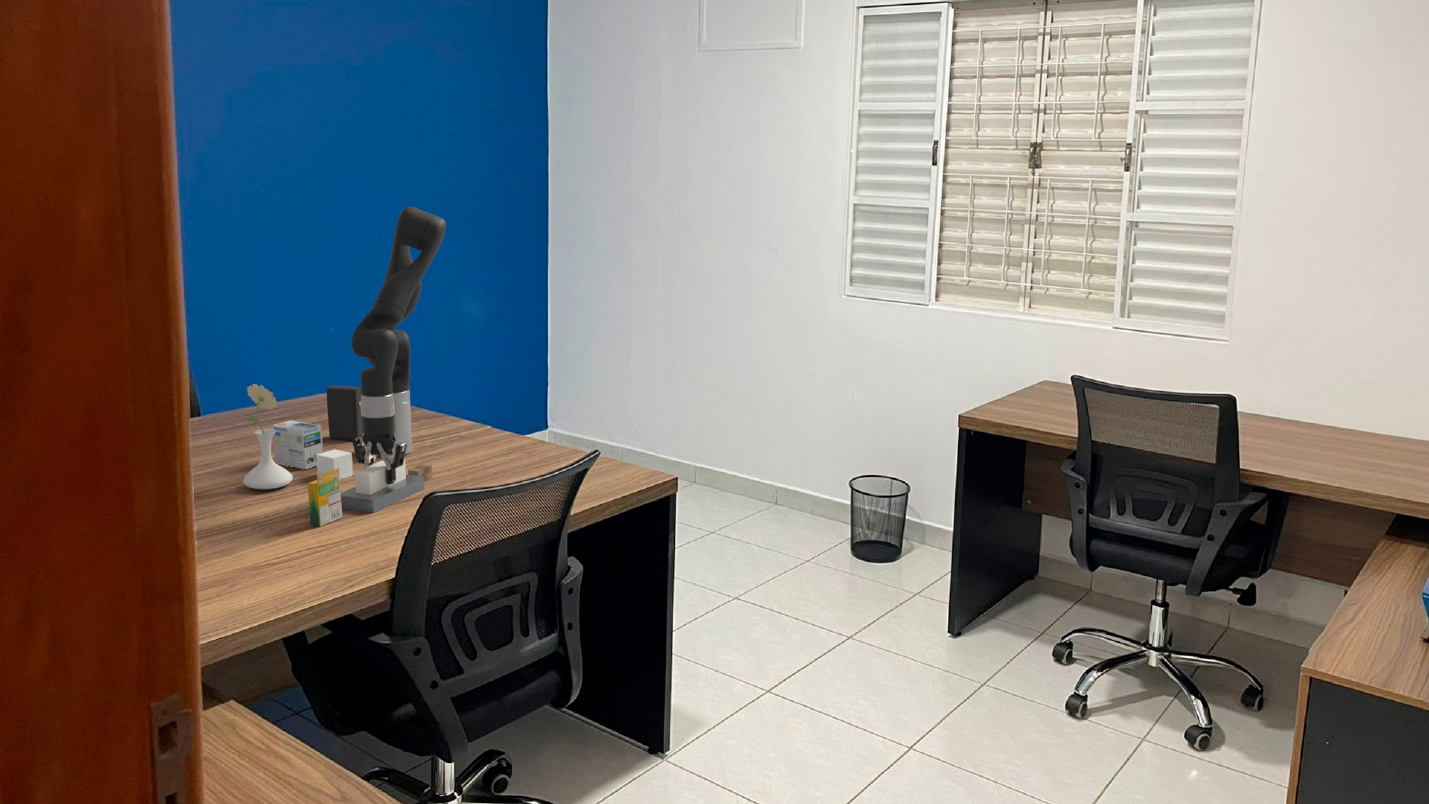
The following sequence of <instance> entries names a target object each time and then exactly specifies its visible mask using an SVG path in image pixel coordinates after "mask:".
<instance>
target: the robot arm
mask: <svg viewBox="0 0 1429 804" xmlns="http://www.w3.org/2000/svg"><path fill="white" fill-rule="evenodd" d="M446 228H447V223H446V220H445V219H443V218H442V217H440V216H437V215H435V214H432V213H430V212H427V211H425V210H421V209H419V208H417V207H413V206H406V207H404V209H402V211H401V212H400V215H399V217H398V220H397V222H396V228H395V230H394V231H395V232H394V237H393V243H392V244H393V245H392V250H391V255H390V260H389V263H388V267H387V270H386V275H385V277H384V279H383V284H382V287H380V291H379V293H378V295H377V297H376V300H375V302H374V304H373V307H372V309H370V311H368V313H366V315H365V317H363V319H362V320H361V321H360V323H359V324H358V325H357V326H356V328H355V329H354V331H353V333H352V336H351V340H350V343H351V345H350V346H351V350H352V352H353V353H354V354H355V355H356V356H358V357H361V358H366V360H367V362H368V363H369V364H370V365H371V367H367V368H365V369H363V370H362V371H361V374H360V388H361V419H362V432H363V437H358V438H355V439H353V440H351V442H352V446H353V451H354V453H355V458H356V461H357V463H358V464H362V465H363V466H364V468H365V467H368V466H370V465H373V464H375V463H376V462H375V461H376V458H377V456H380V457H381V461H382V460H383V461H384V462H385V465H386V468H387V470H386V481H387V485H391V484H393V483H394V482H395V481H396V468H398V467H400V466H402V465H403V463H404V459H405V457H406V455H407V454H410V453H412V452H413V441H412V416H411V392H410V383H411V342H410V337H409V336H408V335H409V334H408V333H407V332H406V331H405V330H403V329H395V328H396V327H397V326H399V324H401V323H402V322H403V321H405V320H406V318H407V317H409V316H410V315H411V313H413V312H414V310H415V308H417V305H418V302H419V298H420V296H421V295H420V294H421V292H422V281H421V280H422V278H423V277H424V276H425V274H426V272H427V270H429V269H428V268H429V267H430V265H431V264H432V261H433V259H434V258H435V256H436V254H437V252H438V250H439V249H440V247H441V245H442V242H443V240H444V236H445V234H446ZM410 248H412V249H414V250H417V251H421V252H420V253H419V255H418V256H417V258H416V259H415V260H413V258H412V255H411V252H410ZM372 366H373V367H372Z"/></svg>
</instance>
